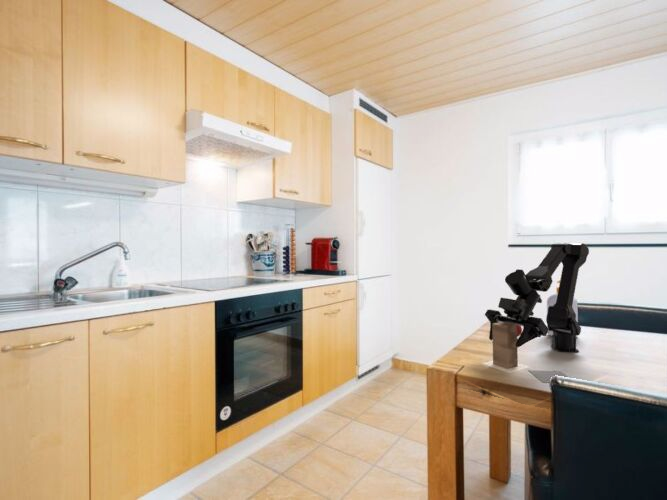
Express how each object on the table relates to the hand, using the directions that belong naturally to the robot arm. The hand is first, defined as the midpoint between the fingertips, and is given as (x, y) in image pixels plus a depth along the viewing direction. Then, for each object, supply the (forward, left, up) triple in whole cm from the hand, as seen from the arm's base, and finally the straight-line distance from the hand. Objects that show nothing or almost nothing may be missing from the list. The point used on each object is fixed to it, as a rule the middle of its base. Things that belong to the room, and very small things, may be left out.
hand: (502, 342), depth 108 cm
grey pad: (-10, +8, -8) cm, 15 cm away
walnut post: (-1, -1, -7) cm, 7 cm away
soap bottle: (-37, -39, -8) cm, 54 cm away
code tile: (-1, -1, -8) cm, 8 cm away
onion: (-16, -34, -8) cm, 38 cm away
